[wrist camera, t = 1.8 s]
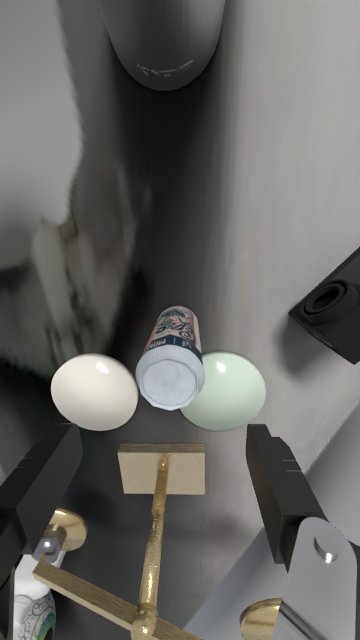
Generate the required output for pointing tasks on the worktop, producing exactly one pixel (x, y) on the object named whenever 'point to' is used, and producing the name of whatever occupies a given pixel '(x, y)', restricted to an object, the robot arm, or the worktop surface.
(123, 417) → the glossy white dome
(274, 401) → the worktop surface
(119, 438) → the worktop surface
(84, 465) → the worktop surface
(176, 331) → the beer can
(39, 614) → the decorative object
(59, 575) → the balance
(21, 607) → the eye dropper bottle
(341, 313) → the digital camera
